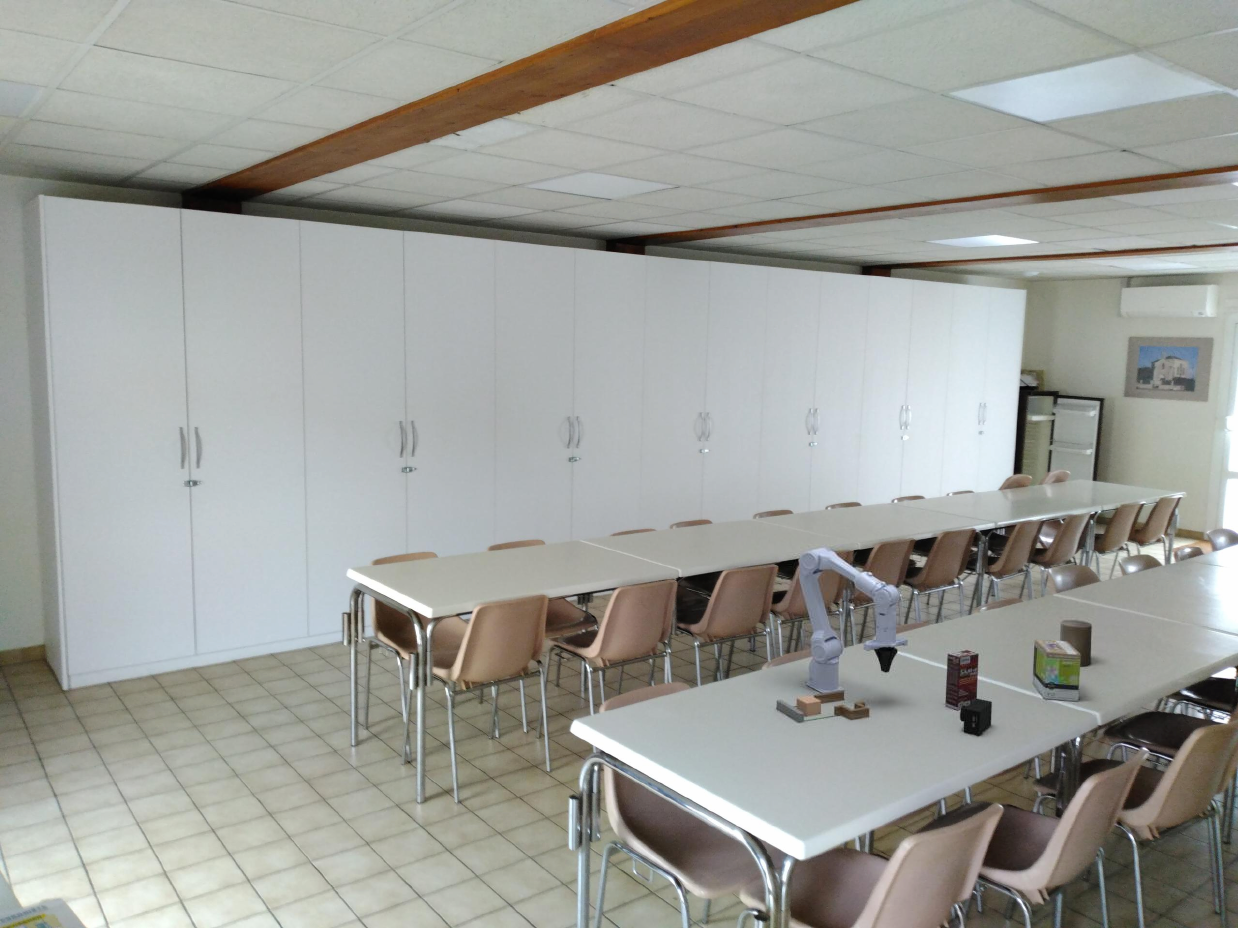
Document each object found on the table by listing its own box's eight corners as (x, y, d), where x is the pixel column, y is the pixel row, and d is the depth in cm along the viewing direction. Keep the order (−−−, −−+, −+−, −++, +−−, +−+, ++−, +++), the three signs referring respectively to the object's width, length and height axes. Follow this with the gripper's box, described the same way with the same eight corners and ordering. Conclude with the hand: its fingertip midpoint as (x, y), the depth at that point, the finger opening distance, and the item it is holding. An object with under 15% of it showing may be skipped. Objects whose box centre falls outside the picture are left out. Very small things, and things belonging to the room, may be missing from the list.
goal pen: (776, 708, 266) (776, 700, 266) (811, 702, 270) (811, 694, 270) (799, 722, 255) (799, 713, 254) (835, 716, 259) (835, 707, 259)
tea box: (1079, 701, 270) (1081, 653, 269) (1043, 699, 272) (1045, 651, 271) (1065, 685, 285) (1067, 639, 284) (1031, 683, 287) (1033, 638, 286)
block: (796, 711, 264) (796, 697, 264) (810, 708, 266) (810, 695, 266) (806, 716, 259) (806, 703, 259) (820, 714, 261) (821, 700, 261)
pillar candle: (1096, 666, 304) (1097, 622, 303) (1066, 666, 304) (1068, 622, 303) (1081, 658, 314) (1083, 615, 312) (1053, 658, 314) (1055, 615, 313)
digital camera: (971, 720, 256) (972, 696, 255) (991, 725, 252) (992, 700, 252) (958, 731, 248) (959, 707, 247) (979, 736, 244) (980, 711, 244)
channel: (813, 702, 270) (813, 694, 270) (841, 698, 274) (841, 690, 274) (845, 720, 256) (845, 712, 256) (874, 715, 260) (874, 707, 259)
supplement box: (958, 710, 263) (959, 657, 262) (944, 705, 268) (946, 653, 266) (977, 705, 268) (979, 653, 266) (964, 700, 272) (966, 649, 270)
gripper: (874, 632, 261) (873, 678, 262) (914, 627, 266) (913, 672, 267) (859, 626, 267) (858, 671, 269) (899, 621, 273) (898, 665, 274)
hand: (885, 671), depth 268 cm, fingers closed
